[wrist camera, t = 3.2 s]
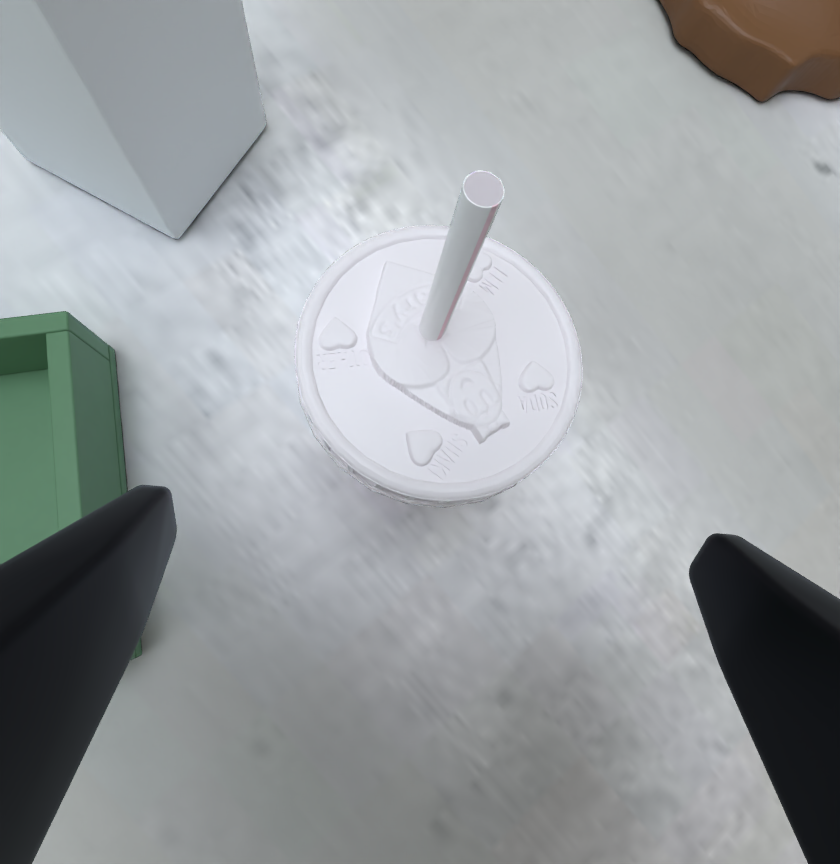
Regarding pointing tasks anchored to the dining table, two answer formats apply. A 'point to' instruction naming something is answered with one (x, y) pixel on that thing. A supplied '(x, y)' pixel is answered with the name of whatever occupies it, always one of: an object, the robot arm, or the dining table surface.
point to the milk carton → (131, 98)
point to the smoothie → (438, 359)
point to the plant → (764, 42)
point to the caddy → (55, 429)
